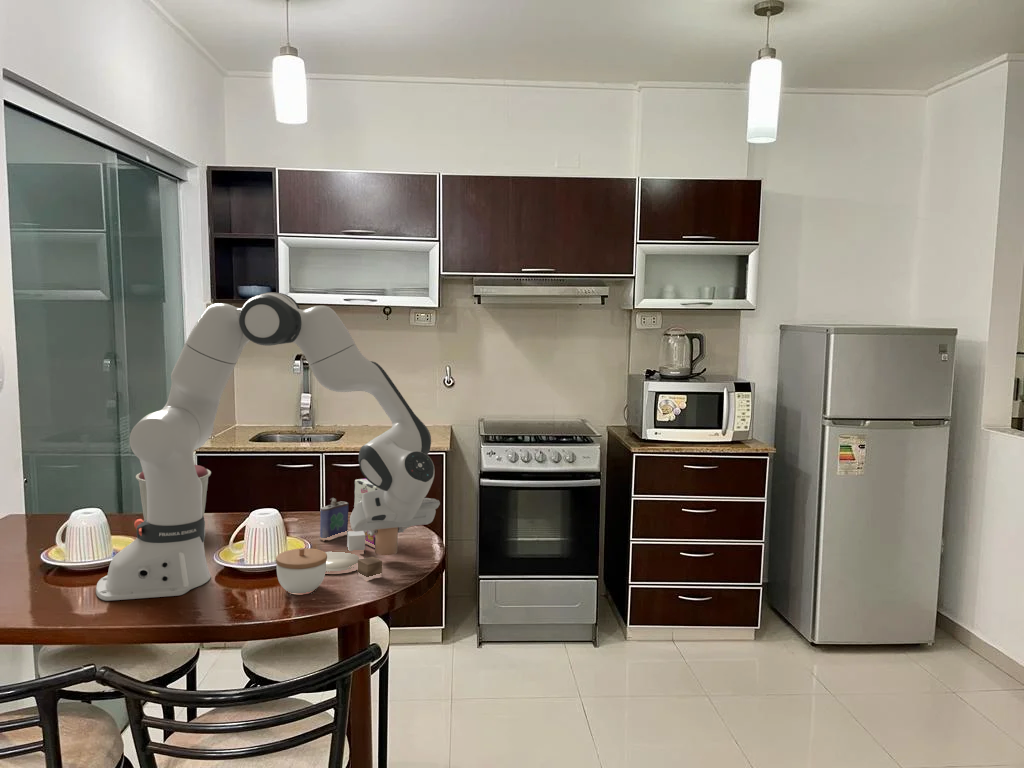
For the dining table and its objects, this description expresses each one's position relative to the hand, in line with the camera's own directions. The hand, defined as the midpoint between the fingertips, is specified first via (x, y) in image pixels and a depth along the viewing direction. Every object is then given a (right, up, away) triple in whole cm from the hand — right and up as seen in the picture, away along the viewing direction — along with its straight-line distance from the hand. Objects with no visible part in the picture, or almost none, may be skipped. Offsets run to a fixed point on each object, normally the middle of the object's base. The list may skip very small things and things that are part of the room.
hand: (385, 531), depth 178 cm
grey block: (-9, -7, +7) cm, 13 cm away
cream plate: (-12, -7, -3) cm, 14 cm away
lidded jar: (-15, -9, -20) cm, 26 cm away
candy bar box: (-6, -6, +15) cm, 17 cm away
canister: (-59, -4, +15) cm, 61 cm away
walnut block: (-2, -9, -10) cm, 13 cm away
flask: (-17, -5, +18) cm, 25 cm away
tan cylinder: (0, -5, 0) cm, 5 cm away
